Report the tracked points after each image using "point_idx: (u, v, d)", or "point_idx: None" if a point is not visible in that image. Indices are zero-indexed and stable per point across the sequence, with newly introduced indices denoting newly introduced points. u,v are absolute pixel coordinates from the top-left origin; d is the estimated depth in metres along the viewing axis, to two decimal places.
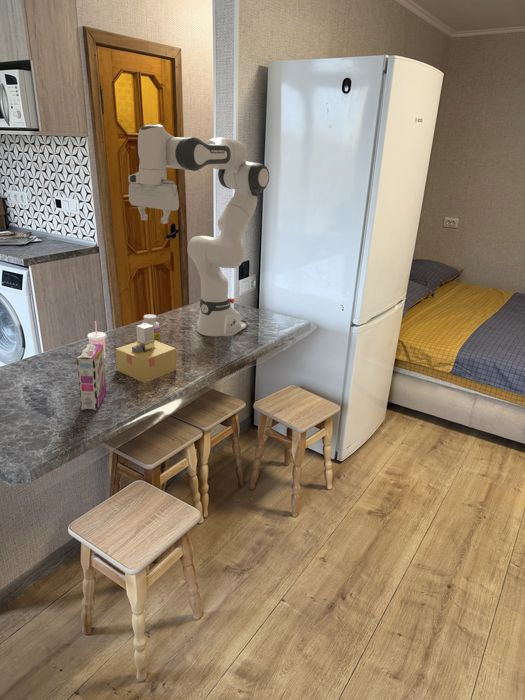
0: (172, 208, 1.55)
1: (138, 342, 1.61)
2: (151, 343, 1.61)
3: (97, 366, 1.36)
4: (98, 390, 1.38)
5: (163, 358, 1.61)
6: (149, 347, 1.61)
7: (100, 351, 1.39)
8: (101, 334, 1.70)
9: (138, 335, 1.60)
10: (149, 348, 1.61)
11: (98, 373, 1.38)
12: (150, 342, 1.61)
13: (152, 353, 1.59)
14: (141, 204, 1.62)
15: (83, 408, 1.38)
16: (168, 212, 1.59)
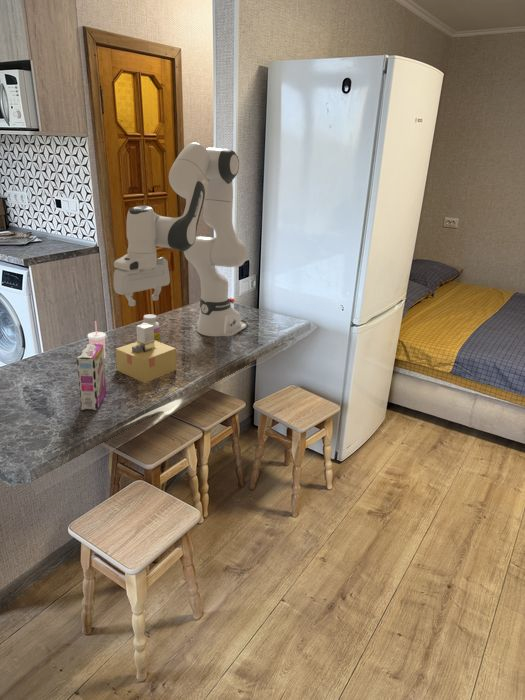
0: None
1: (138, 342, 1.61)
2: (151, 343, 1.61)
3: (97, 366, 1.36)
4: (98, 390, 1.38)
5: (163, 358, 1.61)
6: (149, 347, 1.61)
7: (100, 351, 1.39)
8: (101, 334, 1.70)
9: (138, 335, 1.60)
10: (149, 348, 1.61)
11: (98, 373, 1.38)
12: (150, 342, 1.61)
13: (152, 353, 1.59)
14: (137, 289, 1.51)
15: (83, 408, 1.38)
16: None
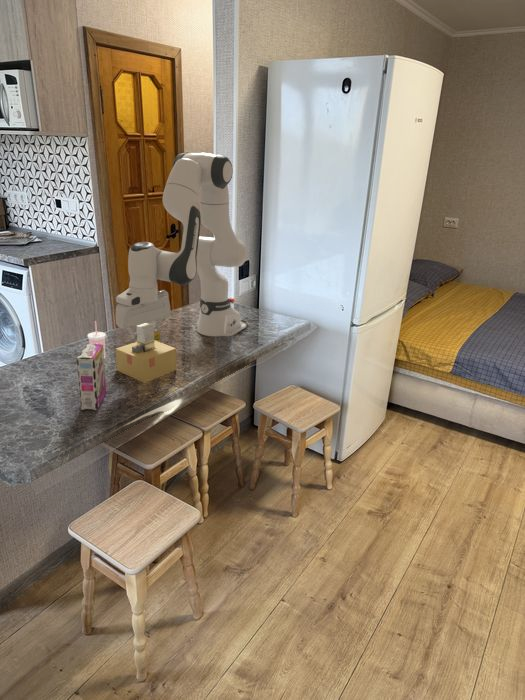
0: None
1: (138, 342, 1.61)
2: (151, 343, 1.61)
3: (97, 366, 1.36)
4: (98, 390, 1.38)
5: (163, 358, 1.61)
6: (149, 347, 1.61)
7: (100, 351, 1.39)
8: (101, 334, 1.70)
9: (138, 335, 1.60)
10: (149, 348, 1.61)
11: (98, 373, 1.38)
12: (150, 342, 1.61)
13: (152, 353, 1.59)
14: (138, 323, 1.55)
15: (83, 408, 1.38)
16: None
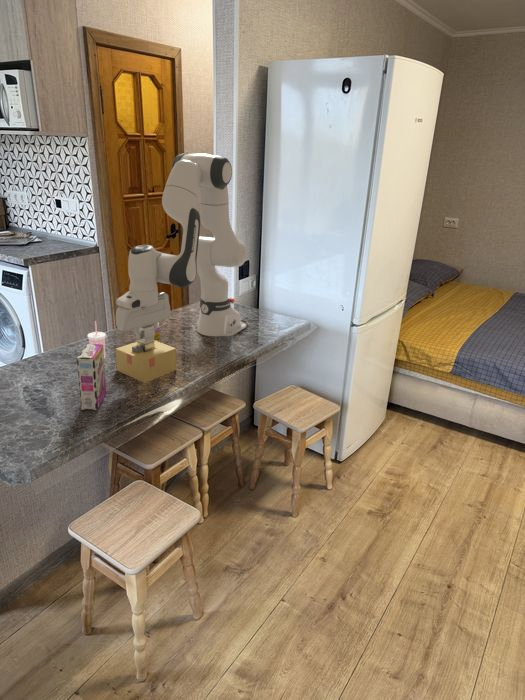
0: None
1: (138, 342, 1.61)
2: (151, 343, 1.61)
3: (97, 366, 1.36)
4: (98, 390, 1.38)
5: (163, 358, 1.61)
6: (149, 347, 1.61)
7: (100, 351, 1.39)
8: (101, 334, 1.70)
9: None
10: (149, 348, 1.61)
11: (98, 373, 1.38)
12: (150, 342, 1.61)
13: (152, 353, 1.59)
14: (139, 325, 1.55)
15: (83, 408, 1.38)
16: None
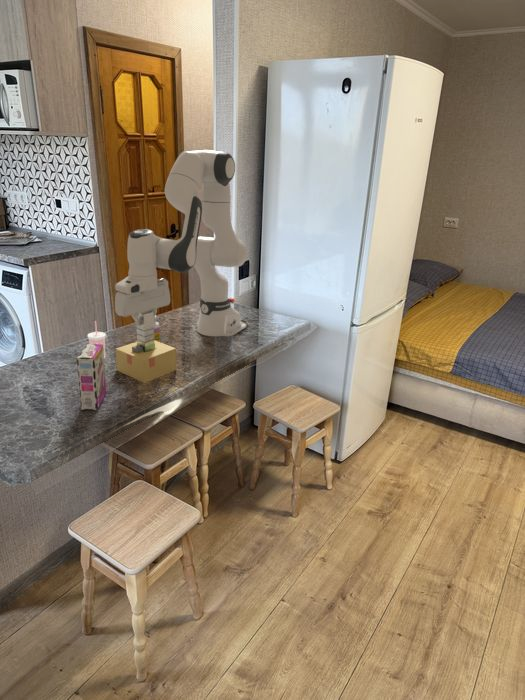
0: None
1: (137, 328, 1.59)
2: (150, 330, 1.59)
3: (97, 366, 1.36)
4: (98, 390, 1.38)
5: (163, 358, 1.61)
6: (148, 334, 1.59)
7: (100, 351, 1.39)
8: (101, 334, 1.70)
9: None
10: (148, 335, 1.59)
11: (98, 373, 1.38)
12: (149, 328, 1.59)
13: (152, 353, 1.59)
14: (138, 311, 1.53)
15: (83, 408, 1.38)
16: None
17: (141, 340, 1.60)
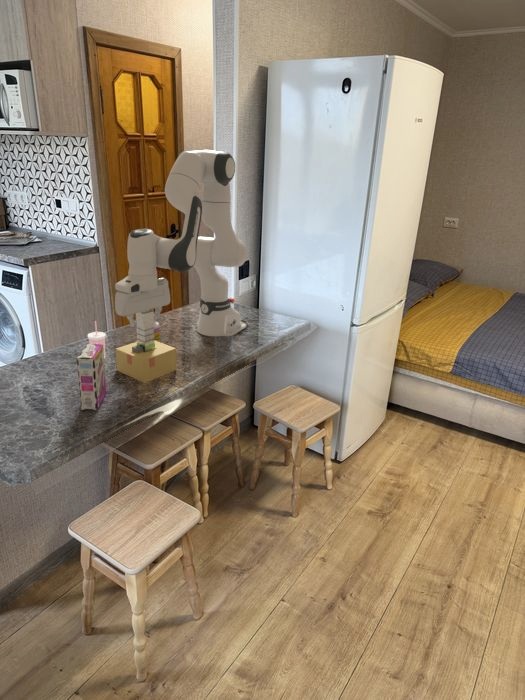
0: None
1: (137, 328, 1.59)
2: (150, 329, 1.59)
3: (97, 366, 1.36)
4: (98, 390, 1.38)
5: (163, 358, 1.61)
6: (148, 333, 1.59)
7: (100, 351, 1.39)
8: (101, 334, 1.70)
9: (137, 321, 1.58)
10: (148, 334, 1.59)
11: (98, 373, 1.38)
12: (149, 328, 1.59)
13: (152, 353, 1.59)
14: (138, 311, 1.53)
15: (83, 408, 1.38)
16: None
17: (141, 340, 1.59)
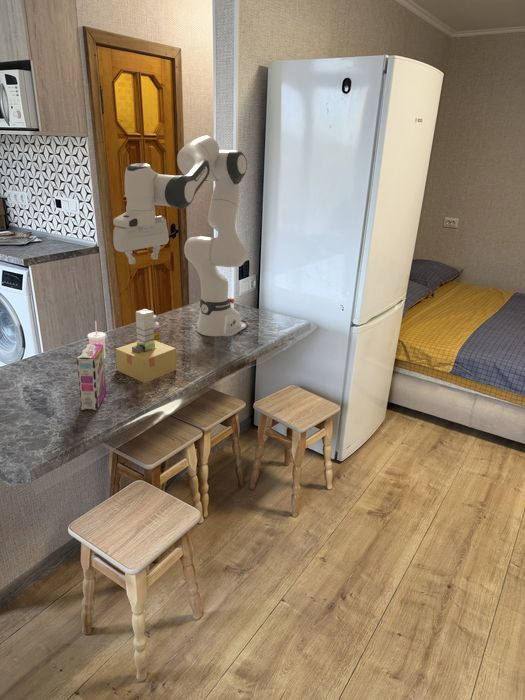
0: None
1: (137, 328, 1.59)
2: (150, 329, 1.59)
3: (97, 366, 1.36)
4: (98, 390, 1.38)
5: (163, 358, 1.61)
6: (148, 333, 1.59)
7: (100, 351, 1.39)
8: (101, 334, 1.70)
9: (137, 321, 1.58)
10: (148, 334, 1.59)
11: (98, 373, 1.38)
12: (149, 328, 1.59)
13: (152, 353, 1.59)
14: (136, 247, 1.53)
15: (83, 408, 1.38)
16: None
17: (141, 340, 1.59)
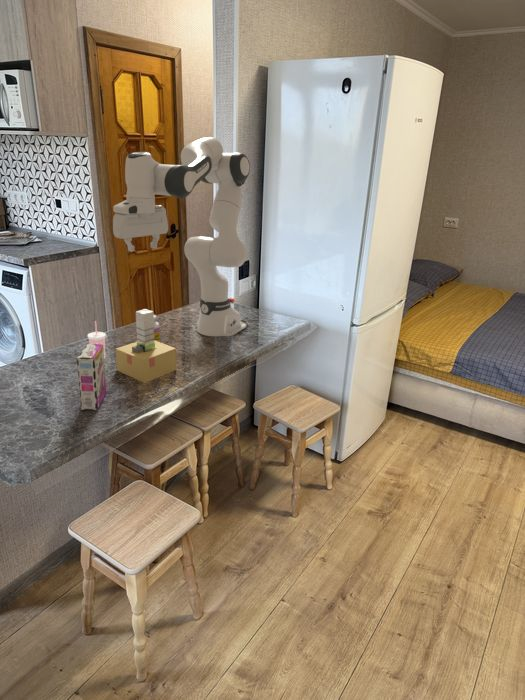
0: None
1: (137, 328, 1.59)
2: (150, 329, 1.59)
3: (97, 366, 1.36)
4: (98, 390, 1.38)
5: (163, 358, 1.61)
6: (148, 333, 1.59)
7: (100, 351, 1.39)
8: (101, 334, 1.70)
9: (137, 321, 1.58)
10: (148, 334, 1.59)
11: (98, 373, 1.38)
12: (149, 328, 1.59)
13: (152, 353, 1.59)
14: (136, 235, 1.54)
15: (83, 408, 1.38)
16: None
17: (141, 340, 1.59)
